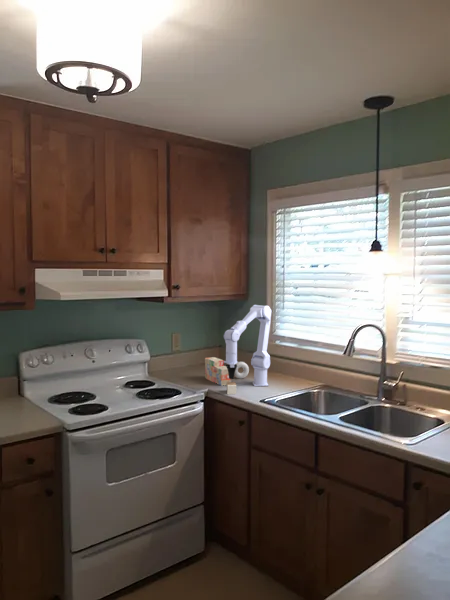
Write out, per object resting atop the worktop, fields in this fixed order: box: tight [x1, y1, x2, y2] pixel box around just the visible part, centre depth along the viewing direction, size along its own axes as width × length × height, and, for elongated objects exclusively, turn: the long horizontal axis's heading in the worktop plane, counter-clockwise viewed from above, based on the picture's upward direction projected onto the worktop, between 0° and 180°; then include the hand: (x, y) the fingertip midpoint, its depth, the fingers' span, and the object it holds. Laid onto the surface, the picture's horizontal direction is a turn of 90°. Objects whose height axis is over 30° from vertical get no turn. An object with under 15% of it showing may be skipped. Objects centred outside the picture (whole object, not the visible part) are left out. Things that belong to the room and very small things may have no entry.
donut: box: [234, 361, 250, 380], centre depth 297 cm, size 10×4×10 cm, turn 101°
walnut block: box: [226, 381, 237, 395], centre depth 266 cm, size 4×4×8 cm
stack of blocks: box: [204, 356, 232, 387], centre depth 290 cm, size 21×6×12 cm, turn 27°
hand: (231, 378), depth 267 cm, fingers closed
